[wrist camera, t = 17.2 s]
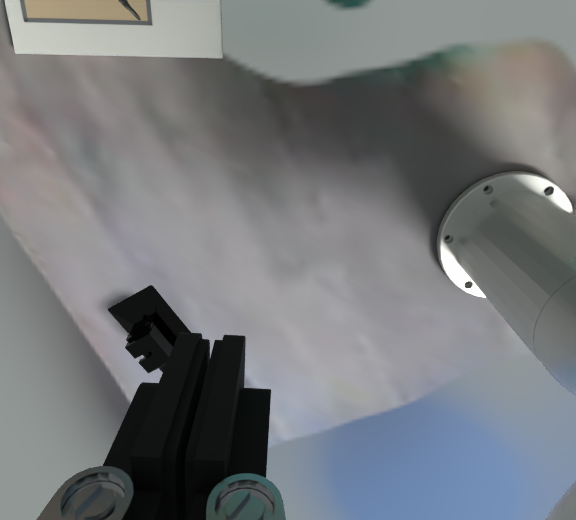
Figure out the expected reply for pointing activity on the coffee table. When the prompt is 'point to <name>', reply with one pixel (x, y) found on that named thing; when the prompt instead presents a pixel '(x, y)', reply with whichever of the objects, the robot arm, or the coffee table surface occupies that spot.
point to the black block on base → (149, 327)
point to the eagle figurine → (129, 8)
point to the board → (117, 27)
